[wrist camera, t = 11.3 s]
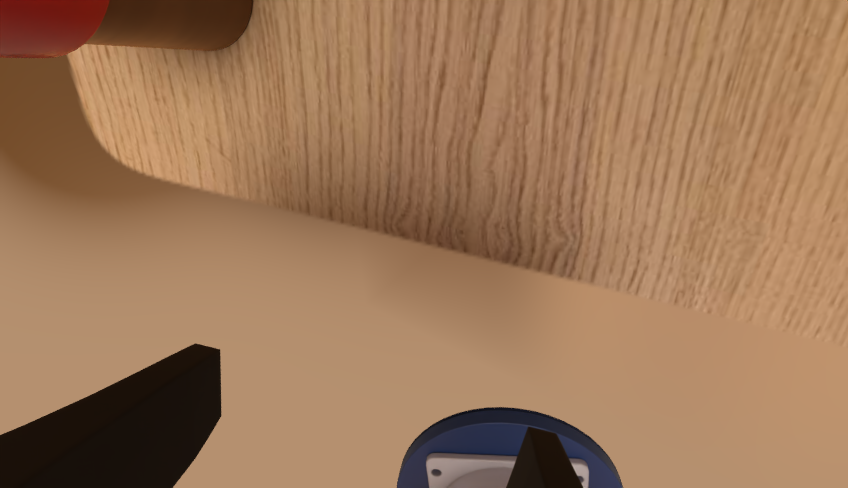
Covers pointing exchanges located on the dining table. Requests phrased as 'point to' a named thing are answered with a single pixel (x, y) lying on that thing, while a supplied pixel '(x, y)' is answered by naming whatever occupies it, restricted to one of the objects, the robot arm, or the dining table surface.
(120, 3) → the stand
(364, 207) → the dining table surface
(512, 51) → the dining table surface
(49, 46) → the can
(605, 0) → the dining table surface
